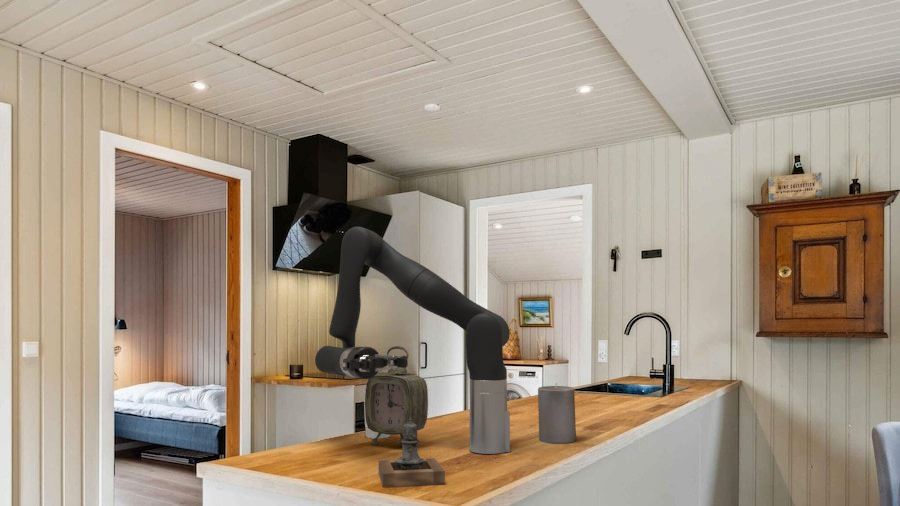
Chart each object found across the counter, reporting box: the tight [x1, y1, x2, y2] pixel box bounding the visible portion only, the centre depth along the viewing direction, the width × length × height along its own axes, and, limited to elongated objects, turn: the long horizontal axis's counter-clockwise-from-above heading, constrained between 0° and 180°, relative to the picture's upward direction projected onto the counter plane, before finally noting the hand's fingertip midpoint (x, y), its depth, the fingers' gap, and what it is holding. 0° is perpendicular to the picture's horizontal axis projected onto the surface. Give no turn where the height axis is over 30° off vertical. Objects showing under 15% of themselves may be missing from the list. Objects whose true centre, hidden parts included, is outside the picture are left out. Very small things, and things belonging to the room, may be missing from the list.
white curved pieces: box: [363, 398, 392, 440], centre depth 180 cm, size 8×8×10 cm
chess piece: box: [395, 418, 425, 470], centre depth 133 cm, size 6×6×12 cm
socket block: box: [377, 457, 446, 488], centre depth 132 cm, size 12×12×2 cm
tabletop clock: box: [364, 345, 429, 446], centre depth 168 cm, size 14×9×25 cm, turn 56°
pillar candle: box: [537, 382, 577, 445], centre depth 174 cm, size 10×10×15 cm
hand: (388, 364), depth 146 cm, fingers open, 8 cm apart
